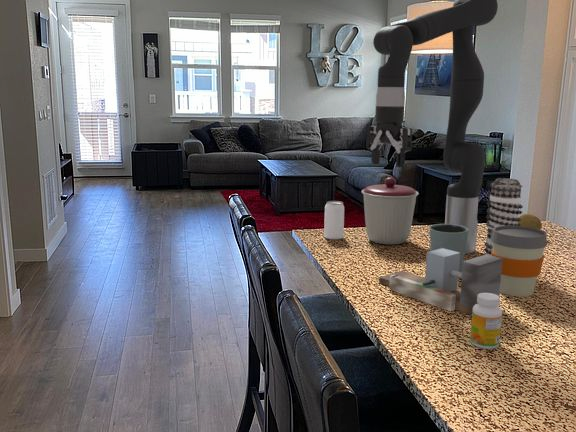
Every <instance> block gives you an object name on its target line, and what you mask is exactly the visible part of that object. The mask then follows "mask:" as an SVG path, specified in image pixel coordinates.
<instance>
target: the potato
mask: <svg viewBox="0 0 576 432" xmlns="http://www.w3.org/2000/svg"><path fill="white" fill-rule="evenodd" d="M518 217H519V218H520V219H521V221H519V222H518V223H519V224H520V226H524V227H531V228H536V229H539V230H542V227H543V224H542V221H541V219H540V218H539V217H538V216H536V215H534V214H530V213H525V214H523V213H522V214H520V215H519V216H518Z"/></svg>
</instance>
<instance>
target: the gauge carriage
mask: <svg viewBox="0 0 576 432" xmlns="http://www.w3.org/2000/svg"><path fill="white" fill-rule="evenodd" d="M459 264H460V253H459V252H455V251H452V250H448V249H444V248H441V249H438V250H434V251H430V250H429V251H427V252H426V261H425V276H424V277H425V282H424V283H423V286H427V285H430V286H433V287H436V288H439V289H442V290H445V291H448V292H451V291H454V290H457V289H458V288H459V279H462V273H461V272H459Z"/></svg>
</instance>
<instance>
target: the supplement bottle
mask: <svg viewBox="0 0 576 432" xmlns="http://www.w3.org/2000/svg"><path fill="white" fill-rule="evenodd" d="M500 297H501V296H500V295H499V296H498V295H496V294H492V293H479V294H478V297H477V303H478V304H476V305H474V307H473V311H472V315H471V322H470V323H471V326H470V334H469V335H470V337H469V342H470V343H471V344H472V345H473V346H475V347H477V348H480V349H485V350H491V349H496V348H498V347H499V345H500V340H501V339H500V338H501V333H502V332H501V330H502V329H501V328H502V322H503V321H502V320H503V319H502V318H503V310H502V309H501V307H500V306H499V305H500V300H501V299H500Z"/></svg>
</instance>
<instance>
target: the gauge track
mask: <svg viewBox="0 0 576 432" xmlns="http://www.w3.org/2000/svg"><path fill="white" fill-rule="evenodd" d="M502 259H503V258H499V257H495V256H491V255H487V254H486V255H484V254H483V255H481V256H476V257H473V258H470V259H467V260H464V261H463V270H462V278H461V285H460V288H459V287H458V289H457V290H454V291H451V292H448V291H445V290H442V289H439V288H436V287H433V286H430V285H427V286H423V283H424V282H425V276H421V275H418V274H414V273H411V272H408V271H405V270H399V271H396V272H393V273H389V274H386V275H382V276H379V277H378V279H379V280H378V283H379V284H380V285H381V284H382V285H385V286H387V287H388V288H389V291H392V292H394V293H395V292H396V293H398V294H401V295H404V296H406V297H409V298H412V299H415V300H418V301H420V302H423V303H426V304H429V305H432V306H435V307H438V308H440V309H443V310H446V311H449V312H453V311H455V310H456V311H459V312H462V313H464V314H466V315H469V316H472V311H473V307H474V305H476V304H478V303H477V297H478V294H479V293H492V294H496V295H498V296H499V297H500V281H501V270H502Z"/></svg>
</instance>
